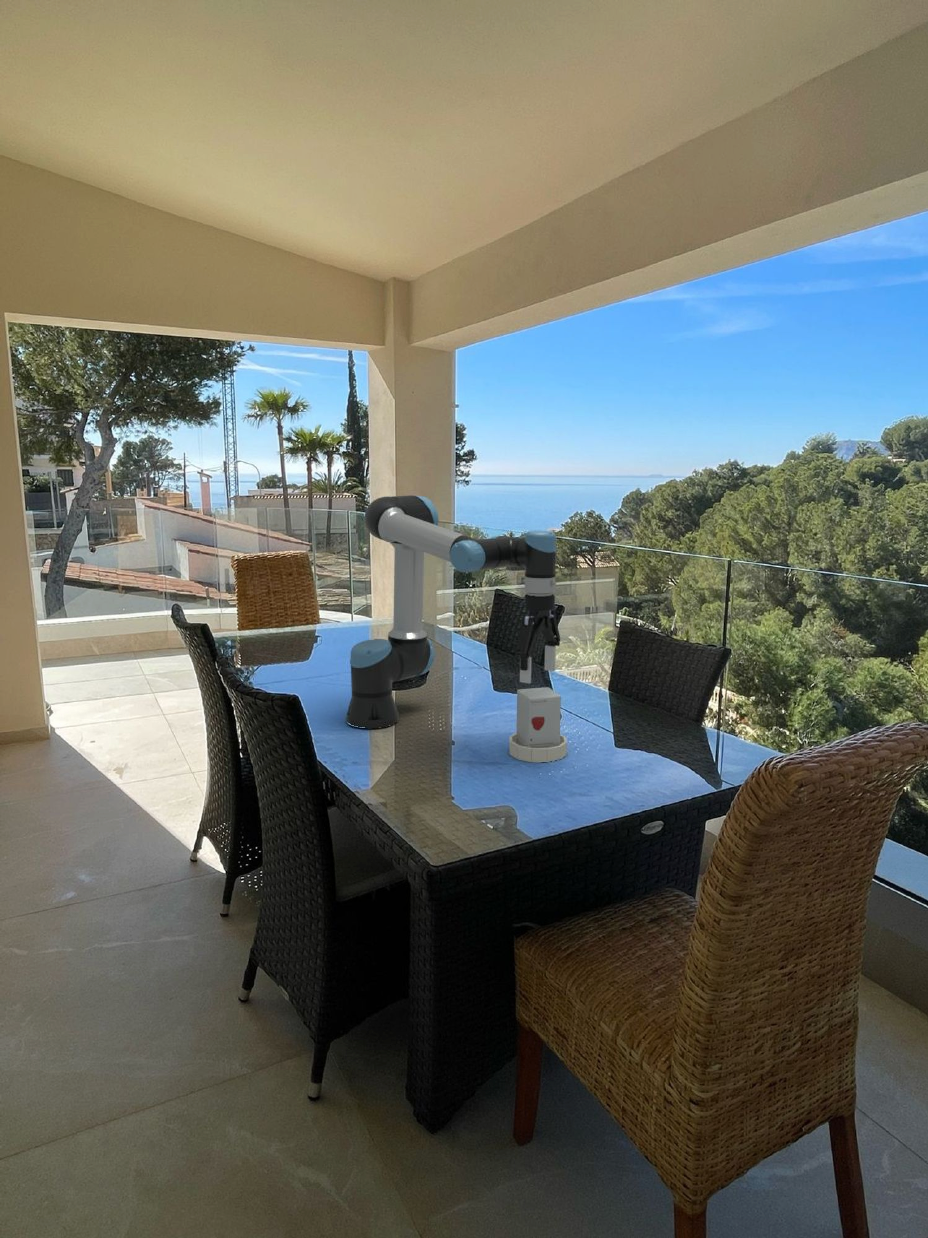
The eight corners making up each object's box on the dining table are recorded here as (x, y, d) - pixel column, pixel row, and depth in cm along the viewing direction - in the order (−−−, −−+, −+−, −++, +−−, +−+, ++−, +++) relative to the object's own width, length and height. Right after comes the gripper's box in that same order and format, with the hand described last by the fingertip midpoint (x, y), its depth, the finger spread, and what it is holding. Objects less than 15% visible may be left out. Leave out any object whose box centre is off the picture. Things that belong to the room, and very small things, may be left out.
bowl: (499, 755, 197) (499, 742, 196) (526, 739, 209) (526, 726, 208) (550, 766, 189) (551, 753, 188) (575, 748, 201) (575, 736, 200)
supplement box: (527, 756, 193) (527, 698, 191) (515, 744, 202) (515, 689, 199) (560, 752, 196) (561, 695, 193) (548, 740, 204) (548, 686, 201)
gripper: (529, 602, 179) (528, 690, 183) (574, 588, 199) (572, 667, 204) (501, 599, 183) (500, 685, 187) (548, 585, 203) (546, 663, 207)
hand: (537, 676), depth 195 cm, fingers open, 13 cm apart
